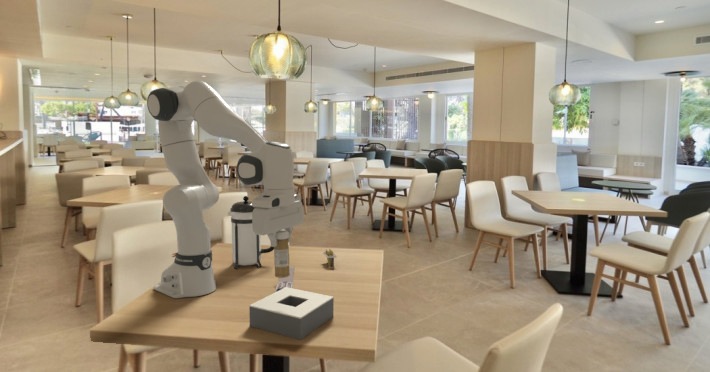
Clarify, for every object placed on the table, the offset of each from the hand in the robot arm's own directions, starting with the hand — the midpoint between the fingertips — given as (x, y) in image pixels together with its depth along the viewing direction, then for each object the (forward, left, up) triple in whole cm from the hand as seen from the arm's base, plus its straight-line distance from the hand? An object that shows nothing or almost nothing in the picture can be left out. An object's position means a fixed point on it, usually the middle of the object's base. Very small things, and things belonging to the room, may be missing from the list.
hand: (280, 244), depth 132 cm
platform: (-18, +59, -25) cm, 67 cm away
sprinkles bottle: (0, 0, -10) cm, 10 cm away
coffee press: (-47, +41, -24) cm, 67 cm away
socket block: (+3, +2, -24) cm, 24 cm away
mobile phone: (-14, +21, -25) cm, 35 cm away
